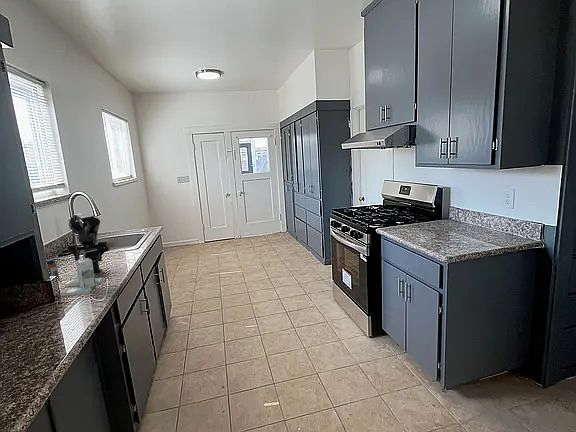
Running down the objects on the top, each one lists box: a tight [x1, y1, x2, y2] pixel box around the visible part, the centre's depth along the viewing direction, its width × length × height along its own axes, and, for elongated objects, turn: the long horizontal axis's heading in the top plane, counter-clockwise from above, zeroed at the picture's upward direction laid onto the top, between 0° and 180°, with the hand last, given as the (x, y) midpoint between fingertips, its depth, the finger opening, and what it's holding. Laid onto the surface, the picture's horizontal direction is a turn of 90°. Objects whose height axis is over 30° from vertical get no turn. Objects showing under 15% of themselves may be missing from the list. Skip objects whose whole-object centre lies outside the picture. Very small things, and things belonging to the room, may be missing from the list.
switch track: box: [59, 277, 103, 297], centre depth 170 cm, size 17×17×2 cm
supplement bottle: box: [46, 258, 60, 279], centre depth 186 cm, size 6×6×11 cm
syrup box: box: [75, 258, 97, 288], centre depth 169 cm, size 6×6×14 cm
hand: (86, 262), depth 172 cm, fingers open, 9 cm apart
